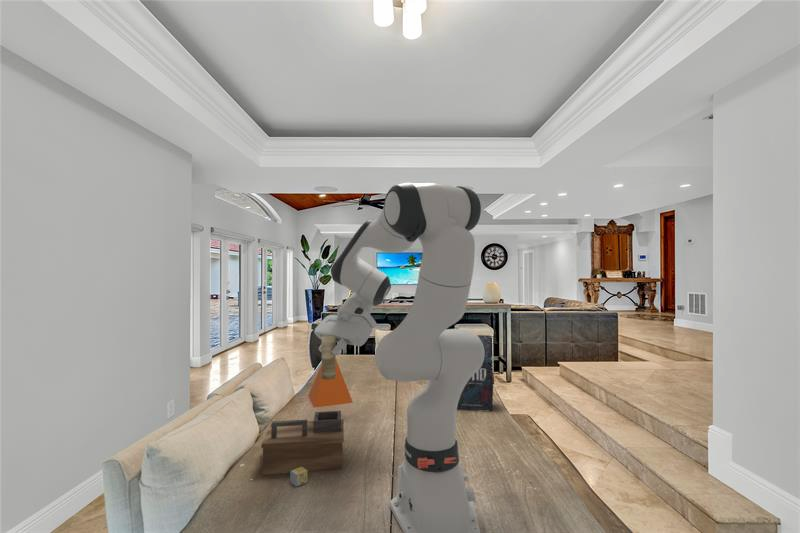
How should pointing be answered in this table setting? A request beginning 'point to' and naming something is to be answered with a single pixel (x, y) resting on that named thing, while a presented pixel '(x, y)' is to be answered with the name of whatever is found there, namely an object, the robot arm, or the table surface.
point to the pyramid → (329, 390)
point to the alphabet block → (298, 476)
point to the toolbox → (304, 444)
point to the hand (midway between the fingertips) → (326, 352)
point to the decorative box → (479, 383)
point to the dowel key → (328, 357)
